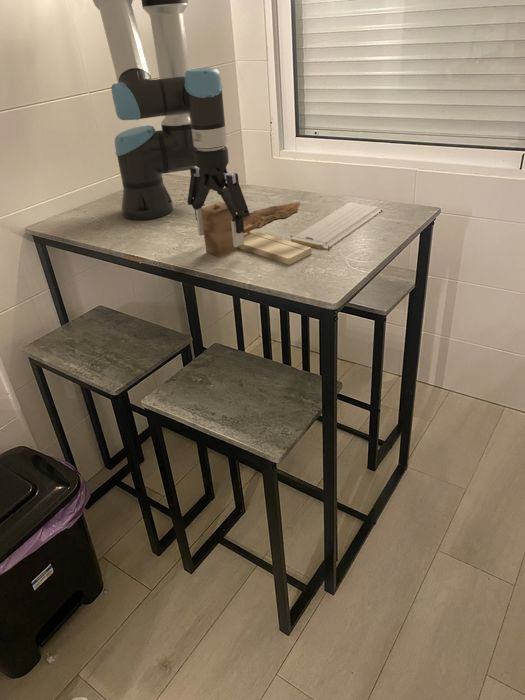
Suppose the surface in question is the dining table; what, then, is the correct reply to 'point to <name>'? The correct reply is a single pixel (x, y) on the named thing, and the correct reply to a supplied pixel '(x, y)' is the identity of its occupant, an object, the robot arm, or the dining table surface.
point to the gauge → (219, 229)
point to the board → (274, 247)
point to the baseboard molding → (336, 226)
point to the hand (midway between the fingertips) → (220, 239)
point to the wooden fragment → (270, 214)
